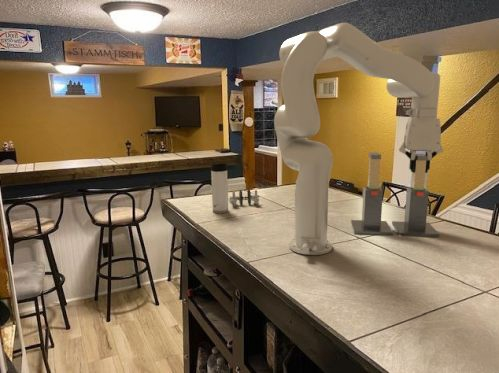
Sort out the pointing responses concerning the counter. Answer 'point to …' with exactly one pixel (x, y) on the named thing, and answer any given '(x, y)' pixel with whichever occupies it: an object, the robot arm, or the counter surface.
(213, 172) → the travel mug
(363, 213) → the sleeve
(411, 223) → the sleeve
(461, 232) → the counter surface
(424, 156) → the column
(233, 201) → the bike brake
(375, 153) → the column
